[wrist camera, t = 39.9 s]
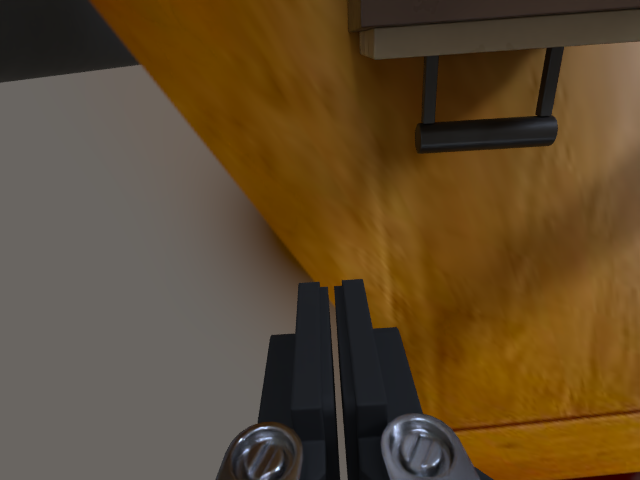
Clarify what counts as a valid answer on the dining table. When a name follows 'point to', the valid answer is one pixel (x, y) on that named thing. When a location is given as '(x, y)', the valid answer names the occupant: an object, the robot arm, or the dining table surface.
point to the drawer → (490, 38)
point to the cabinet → (465, 10)
